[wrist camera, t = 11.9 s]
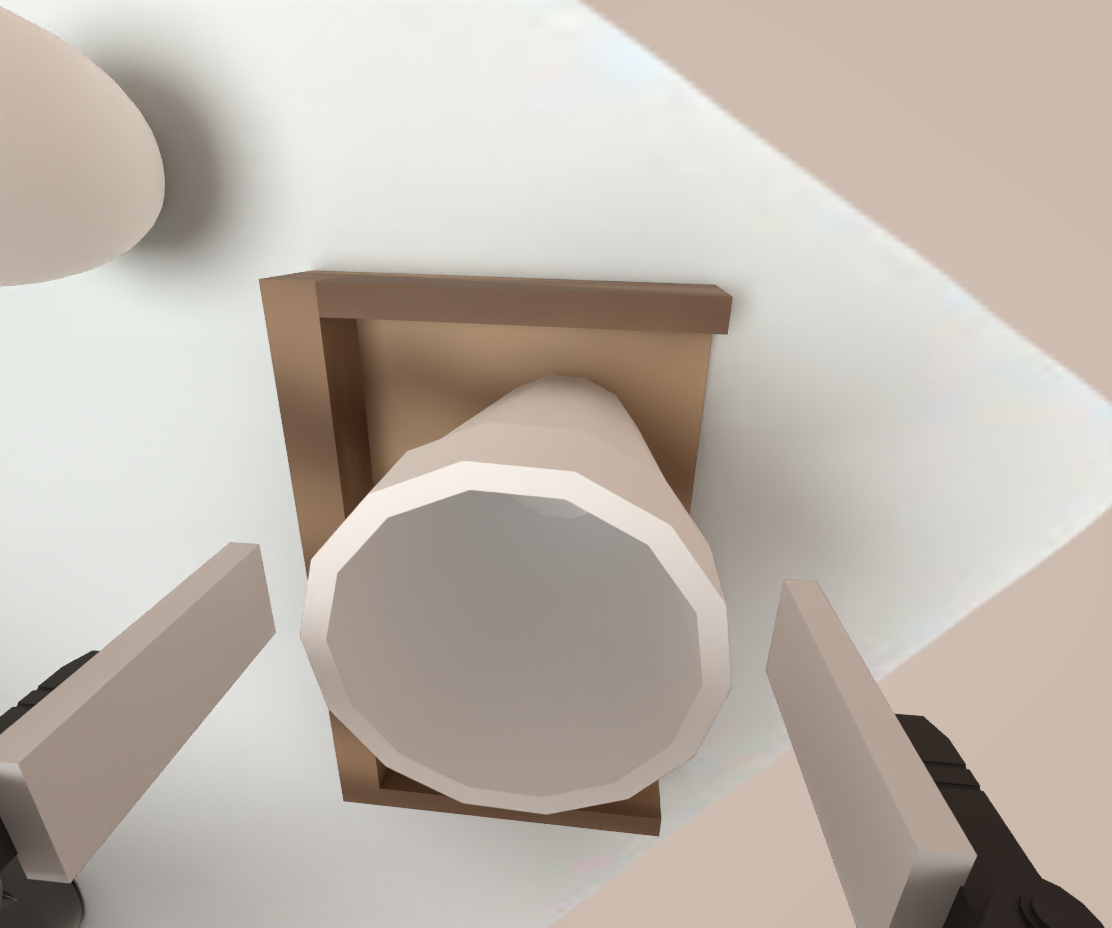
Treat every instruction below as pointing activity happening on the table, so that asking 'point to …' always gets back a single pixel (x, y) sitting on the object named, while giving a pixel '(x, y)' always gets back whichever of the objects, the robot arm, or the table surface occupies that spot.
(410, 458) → the foam cup
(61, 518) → the table surface
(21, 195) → the sauce bottle
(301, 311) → the slot rack
